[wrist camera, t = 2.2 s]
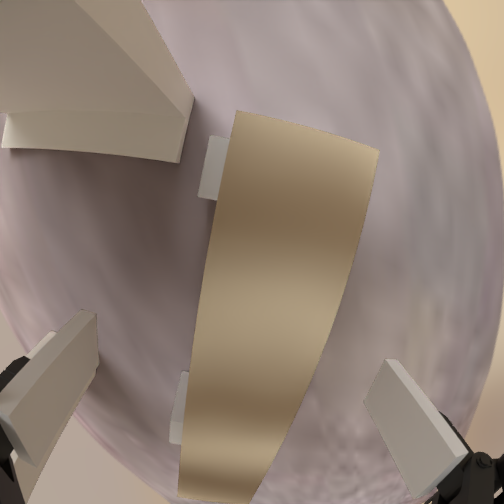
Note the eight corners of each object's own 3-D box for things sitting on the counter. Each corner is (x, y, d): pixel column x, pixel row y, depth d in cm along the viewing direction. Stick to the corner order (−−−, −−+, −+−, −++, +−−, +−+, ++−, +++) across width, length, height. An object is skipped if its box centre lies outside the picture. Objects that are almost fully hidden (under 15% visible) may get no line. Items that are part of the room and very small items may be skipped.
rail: (236, 133, 10) (236, 110, 7) (334, 157, 11) (380, 150, 7) (184, 447, 15) (177, 496, 11) (245, 455, 15) (248, 504, 11)
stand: (218, 147, 15) (210, 135, 10) (321, 171, 16) (354, 169, 11) (179, 394, 19) (169, 442, 15) (256, 406, 20) (261, 454, 15)
